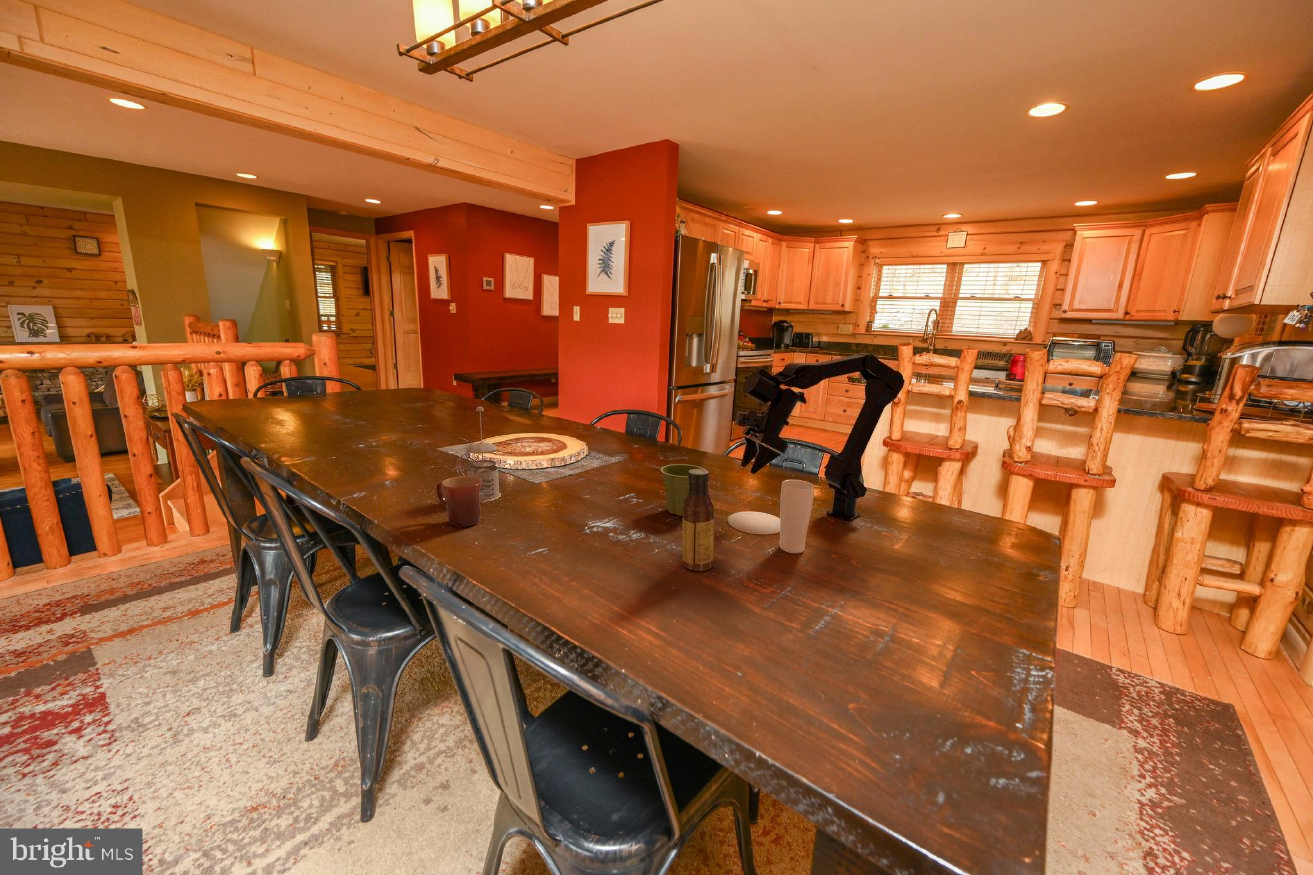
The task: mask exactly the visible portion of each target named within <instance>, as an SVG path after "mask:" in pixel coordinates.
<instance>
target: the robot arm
mask: <svg viewBox="0 0 1313 875" xmlns="http://www.w3.org/2000/svg"><path fill="white" fill-rule="evenodd" d="M855 373H859V375H860V377H861V378H862V379H863V380H864V381H865V386H864V397H865V400H864V403H863V405H862V407H861V409H860V411H859V413H858V416H857V418H856V420H855V422H854V424H853V427H852V429H851V430H850V433H849V435H848V437H847V439H846V442H845V443H844V446H843V448H842V450H841V451H840V452H839V453H837V455H835V454H830V456H829V458H828V461H827V463H826V465H825V466H824V467H823V469H825V470H824V478H825V480H826V482H827V486H828V488H829V489H832V490H834V492H833V501H832V508H831V509H829V510H826V514H827V515H829V516H830V515H831V516H834V517H837V518H840V519H843V520H847V521H851V520H853V519H856V518H858V517H860V516H861V512H858V511H856V510H857V502H858V499H861V498H864V497H865V496H866V493H867V491H868V488H867V487H866V486H865V485H864V483H863V482H862V481H861V480H860V479H861V475H862V473H863V471H862V470H863V469H862V458H863V456H864V454H865V451H866V449H867V447H868V445H869V442H870V440H871V438H872V436H873V434H874V432H875V430H876V427H877V425H878V424H879V421H880V419H881V417H882V415H883V412H884V411H885V408H886V407H887V406H888V405H889V404H891V403H892V402H894V400H896V399H897V397H898V396H899V395H900V393H901V391H902V390H903V389H904V386H905V379H904V376H903V374H902V372H900V371H899V370H895V369H894V368H892V367H891V366H889V365H888V364H886V363H884V362H882V361H881V360H879V359H878V358H877V357H876V356H875V355H874V354H872V353H866V352H865V353H863V352H859V353H857V354H854V355H848V356H843V357H840V358H834V359H829V360H826V361H825V360H824V361H821V362H789V363H787V364H786V365H785V366H784V368H783V369H782V370H780V371H778V372H776V373H774V374H771V373H769V372H768V371H767V370H766V369H764V368H762V367H756V369H755V371H754V372H752V373H751V374H750V375H749V376H748V377H747V378H746V379H745V380H744V383H743V385H742V392H743V393H744V394H745V395H747V396H749V397H751V398H753V399H754V400H756V401H757V402H760V403H761V404H764V405H765V404H768V405H767V406H766V408H765V409H763V410H760V412H759V414H758V413H757V410H750V409H748V410H747V411H746V412H742V411H736V416H735V422H734V425H736V426H738V427H742V428H743V427H744V429H743V430H742V432H741V434H742V438H743V441H744V443H745V444H744V445H745V446H744V451H743V454H742V458H741V461H740V462H741V463H740V466H741V467H743V468H746V467H747V466H748V465H749V464H750V463H751V462H752V461H753V462H752V465H751V468H750V471H749V472H750V474H753V475H755V474H757V473H758V472H759V471H760V470H762V469H763V468H764V467H766V466H767V465H769V464H770V463H771V462H772V461H774V460H776V459H777V458H778V457H781V456H782V454H784V455H785V453H786V452H787V450H788V448H789V444H788V441H787V440H785V439H783V438H782V437H780V435H781V433H782V431H783V430H784V429H785V426H786V427H787V426H789V424H790V421H789V418H790V417H791V415H792V413H793V411H794V410H795V407H796V405H797V404H798V403H800V404H803V405H806V404H807V399H806V396H805V392H804V391H796V390H793V389H792V388H795V389H799V390H808V389H810V388H812V387H814V386H817V385H818V384H820V383H821V382H822V381H824V380H827V379H832V378H837V377H841V376H846V375H850V374H855ZM782 387H786V388H782ZM781 453H782V454H781Z"/></svg>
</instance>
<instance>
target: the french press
mask: <svg viewBox="0 0 1313 875" xmlns="http://www.w3.org/2000/svg"><path fill="white" fill-rule="evenodd" d="M475 411H476V412H479V421H480V422H479V423H480V424H479V425H480V426H479V427H480V428H482V415H481V414H482V413H481V412H484V407H483V406H477V407H476V409H475ZM482 430H483V429H480V442H475V443H473V444H471V445H468V446H467V447H466V448H465V451H466V452H465V453H463V454H462V455H461V456H459V457H458V459H457V461H456V463H455V464H456V471H457V474H458V475H459V477H461V476H466V475H465V474H464V473H463V471H462V469H461V460H462V458H463V457H464V456H466V459H467V460H468V459H470V456H471V455H470V454H478V455H479V454H481V459H476V460H473V461H469V462H468V466H469V468H468V470H467V476H473V477H478V478H480V479H482V484H481V487H480V493H479V497H480V502H487V501H493V500H495V499H498V498H499V497H501V494H502V493H501V491H500V487H499V486H500V485H499V484H500V482H499V468H498V466H497V461H495V460H493V459H484V454H491V453H495V452H497V450H498V449H499V448H498V446H497V445H495V444H493V443H490V442H484V441H483V434H482V432H483V431H482ZM458 466H459V468H458ZM482 469H485V470H482ZM489 470H490V471H489ZM459 471H460V472H459ZM478 471H479V472H478ZM460 473H461V474H462V475H461V474H460Z"/></svg>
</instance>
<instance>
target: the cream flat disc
mask: <svg viewBox="0 0 1313 875" xmlns="http://www.w3.org/2000/svg"><path fill="white" fill-rule="evenodd" d="M727 523H728V525H729V526H730V527H732V528H733V529H736V530H737V531H740V532H743V533H747V534H752V535H761V536H765V535H773V534H774V535H775V534H778V533H779V534H780V517H779V516H775V515H773V514H769V513H766V512H759V511H750V510H749V511H739V512H734V513H732V514H730V515H729V516H728V517H727Z"/></svg>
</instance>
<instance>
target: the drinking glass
mask: <svg viewBox="0 0 1313 875" xmlns="http://www.w3.org/2000/svg"><path fill="white" fill-rule="evenodd" d="M814 493H815V486H814V484H813V483H812V482H809V481H805V480H800V479H785V480H783V481H781V489H780V499H779V501H780V502H779V518H780V532H779V545H778V546H779V548H780V549H781V550H782V551H783V552H786V553H787V554H801V553H803V552H804V551H805V548H806V540H807V535H808V529H809V523H810V518H811V514H812V509H813V503H814V495H815V494H814Z"/></svg>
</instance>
